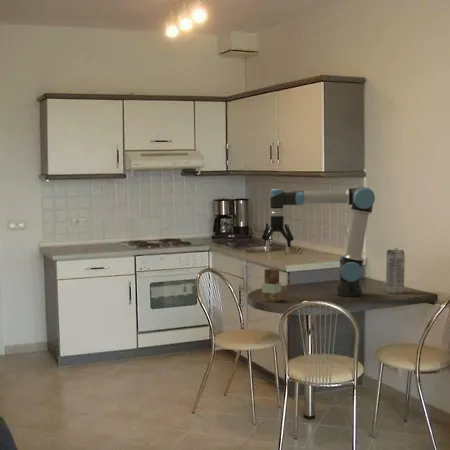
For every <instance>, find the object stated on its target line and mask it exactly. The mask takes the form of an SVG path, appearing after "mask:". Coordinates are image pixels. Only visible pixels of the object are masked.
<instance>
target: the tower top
mask: <svg viewBox="0 0 450 450" xmlns="http://www.w3.org/2000/svg"><path fill="white" fill-rule="evenodd" d="M262 292H265V293H273V294H274V293H278V292H281V293H282V282H279V283H277V284H266V283H265V282H262V283H261V293H262Z"/></svg>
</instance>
